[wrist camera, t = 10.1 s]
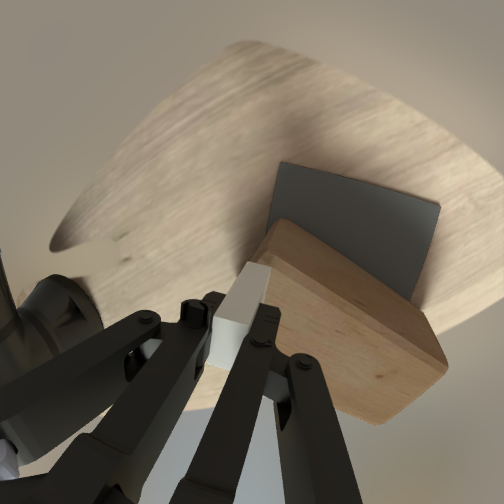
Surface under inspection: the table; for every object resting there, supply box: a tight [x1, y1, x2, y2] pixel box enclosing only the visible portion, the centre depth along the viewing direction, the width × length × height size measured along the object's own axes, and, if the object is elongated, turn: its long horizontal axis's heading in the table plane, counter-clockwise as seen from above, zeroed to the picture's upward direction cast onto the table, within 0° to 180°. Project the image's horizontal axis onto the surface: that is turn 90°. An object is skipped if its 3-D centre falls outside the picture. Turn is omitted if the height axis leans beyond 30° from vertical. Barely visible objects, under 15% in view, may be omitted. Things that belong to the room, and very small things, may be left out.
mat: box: [265, 162, 441, 302], centre depth 28 cm, size 17×12×1 cm
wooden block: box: [249, 218, 448, 425], centre depth 26 cm, size 10×10×20 cm
